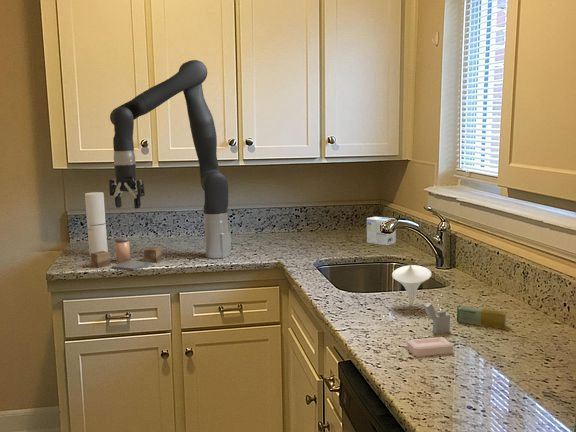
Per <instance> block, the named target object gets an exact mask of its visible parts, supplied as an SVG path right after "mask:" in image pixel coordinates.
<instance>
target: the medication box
mask: <svg viewBox="0 0 576 432" xmlns="http://www.w3.org/2000/svg"><path fill="white" fill-rule="evenodd" d="M456 322H458V323H464V324H471V325H479V326H484V327H485V326H486V327H492V328H499V329H506V328H507V327H506V326H507V311H502V310H497V309H496V310H495V309H489V308H484V307H483V308H482V307H476V306H475V307H474V306H469V305H460V304H459V305H458V306H457V308H456Z"/></svg>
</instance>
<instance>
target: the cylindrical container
mask: <svg viewBox="0 0 576 432" xmlns="http://www.w3.org/2000/svg"><path fill="white" fill-rule="evenodd" d="M104 196H105V195H104V192H103V191H102V192H100V191H97V192H95V191H94V192H86V193H84V200H85V211H86V212H85V214H86V224H87V225H86V227H87V239H88V250H89V251H88V253H89V256H90V257H91V253H94V252H99V251H106V252H109V250H108V249H109V248H108V237H107V223H106V209H105V208H106V207H105V197H104Z"/></svg>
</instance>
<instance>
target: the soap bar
mask: <svg viewBox="0 0 576 432" xmlns="http://www.w3.org/2000/svg"><path fill="white" fill-rule="evenodd" d="M406 344H407V345H406V348H407V350H408V351H409V352H410V353H411V355H413V356H414V357H426V356H437V355H448V354H453V352H454V344H452V343H451V342H450V341H449V340H448V339H446V338H445V337H444V336H439V337H427V338H417V339H408V340H407V341H406Z"/></svg>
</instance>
